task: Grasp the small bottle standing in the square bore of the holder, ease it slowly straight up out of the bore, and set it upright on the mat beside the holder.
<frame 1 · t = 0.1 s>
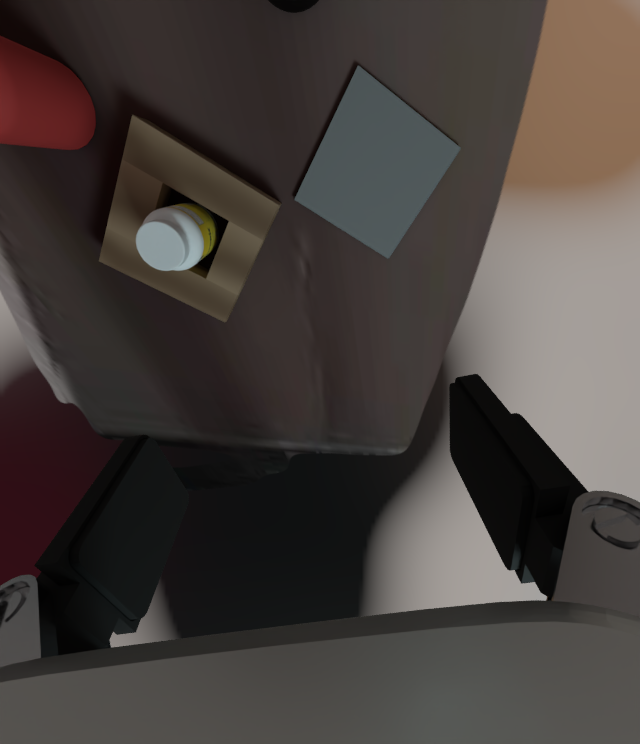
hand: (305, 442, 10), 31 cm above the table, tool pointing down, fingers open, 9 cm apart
holder: (194, 229, 36), on the table
mat: (374, 174, 33), on the table
beer can: (62, 107, 30), on the table
supplement bottle 2: (195, 229, 36), resting in holder
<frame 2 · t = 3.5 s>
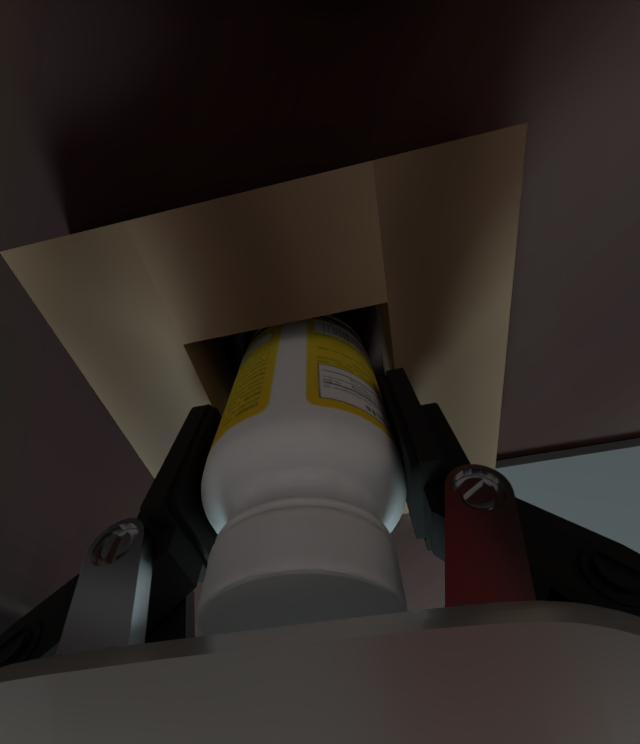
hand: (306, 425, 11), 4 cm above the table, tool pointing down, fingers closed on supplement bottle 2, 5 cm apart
holder: (307, 365, 15), on the table
mat: (578, 514, 20), on the table
supplement bottle 2: (307, 363, 15), resting in holder, touching gripper
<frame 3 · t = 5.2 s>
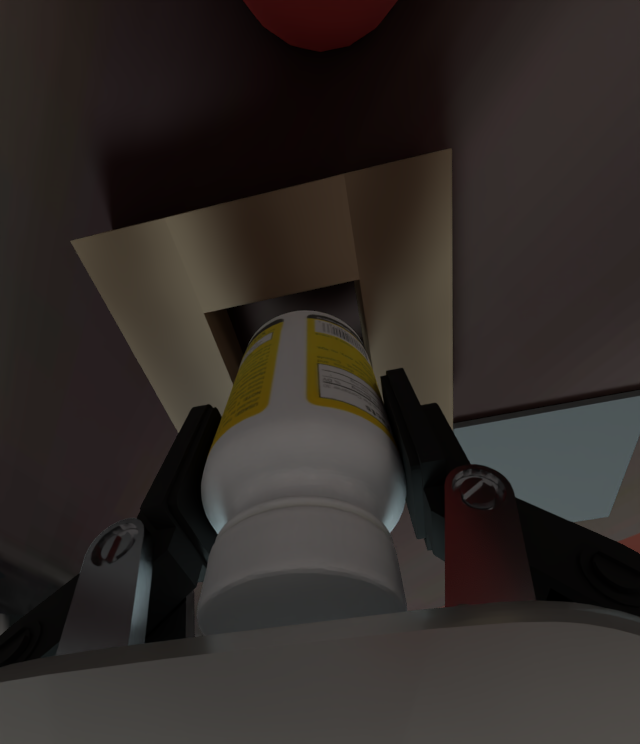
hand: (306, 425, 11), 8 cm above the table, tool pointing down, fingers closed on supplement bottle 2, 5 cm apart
holder: (300, 337, 18), on the table
mat: (535, 472, 24), on the table
supplement bottle 2: (307, 363, 15), point 3 cm above the table, touching gripper
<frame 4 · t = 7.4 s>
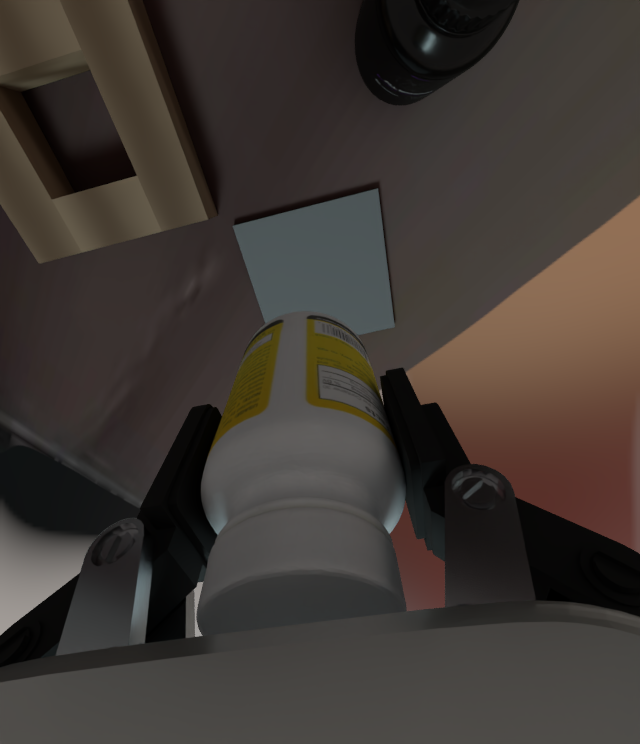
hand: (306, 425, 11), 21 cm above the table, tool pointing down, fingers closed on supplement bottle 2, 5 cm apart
holder: (91, 136, 24), on the table
mat: (320, 279, 30), on the table
supplement bottle: (404, 44, 22), on the table
supplement bottle 2: (307, 364, 15), point 17 cm above the table, touching gripper
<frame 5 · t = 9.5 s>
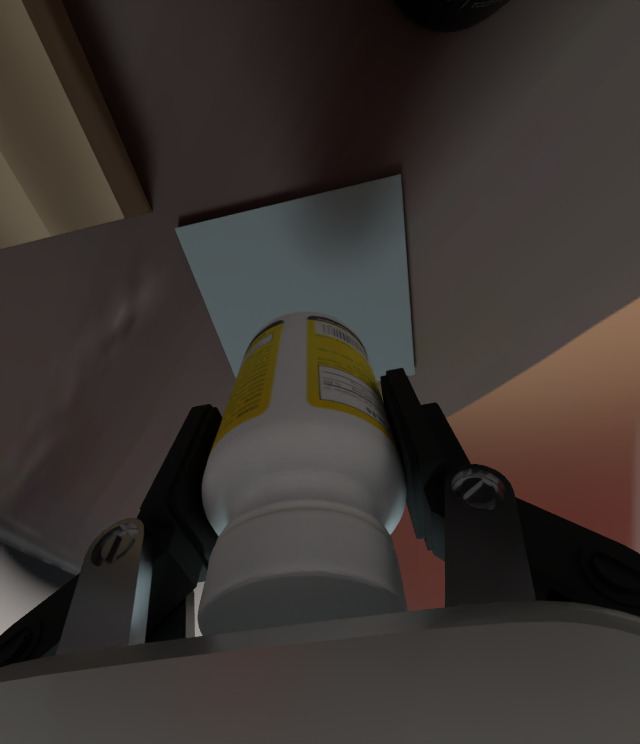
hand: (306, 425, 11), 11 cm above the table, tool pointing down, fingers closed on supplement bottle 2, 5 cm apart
mat: (309, 307, 20), on the table
supplement bottle 2: (307, 364, 15), point 7 cm above the table, touching gripper
when the fingers open (6 cm above the table, at t = 11.4 s): supplement bottle 2 drops 1 cm, resting on mat.
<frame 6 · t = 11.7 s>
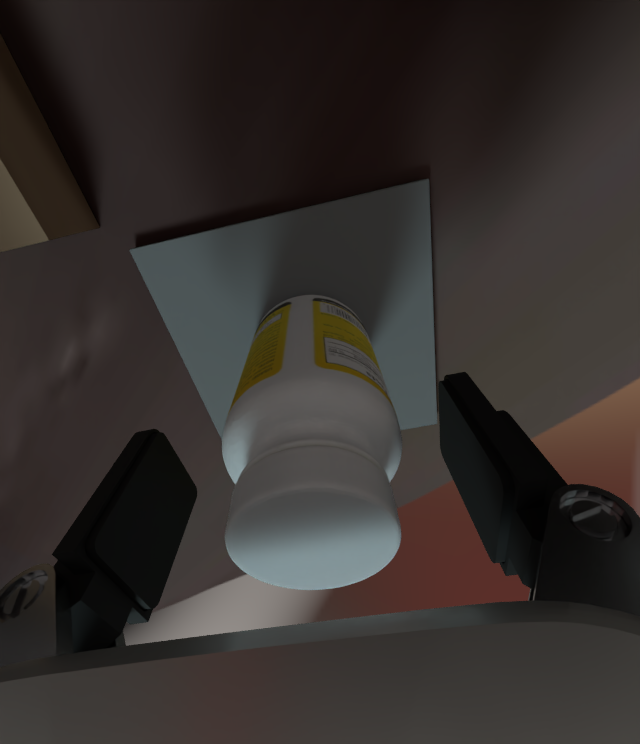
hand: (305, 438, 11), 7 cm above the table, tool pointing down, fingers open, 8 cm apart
mat: (307, 346, 16), on the table
supplement bottle 2: (311, 345, 16), resting on mat
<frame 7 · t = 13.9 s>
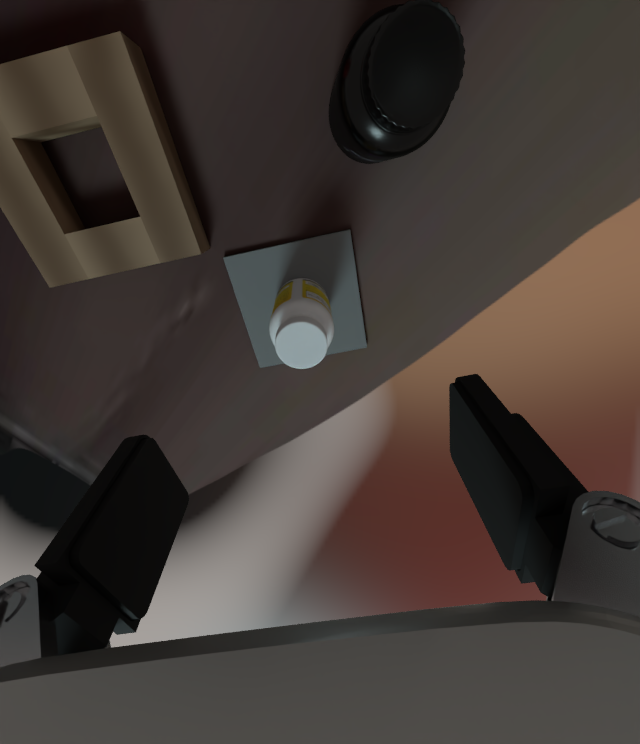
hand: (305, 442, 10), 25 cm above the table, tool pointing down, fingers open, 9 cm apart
holder: (100, 179, 28), on the table
mat: (300, 304, 34), on the table
supplement bottle: (371, 114, 26), on the table
supplement bottle 2: (302, 303, 33), resting on mat
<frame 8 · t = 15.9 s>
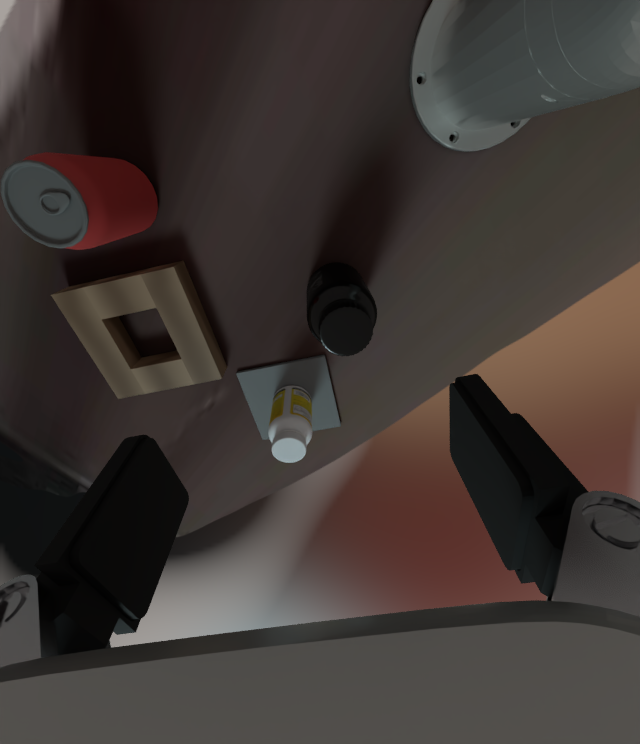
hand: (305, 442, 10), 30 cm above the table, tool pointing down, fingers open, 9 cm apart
holder: (153, 329, 41), on the table
mat: (291, 399, 47), on the table
supplement bottle: (335, 290, 39), on the table
beer can: (127, 196, 33), on the table
supplement bottle 2: (292, 399, 46), resting on mat
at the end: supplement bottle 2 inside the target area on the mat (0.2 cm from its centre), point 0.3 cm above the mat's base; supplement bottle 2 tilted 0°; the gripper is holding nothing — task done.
